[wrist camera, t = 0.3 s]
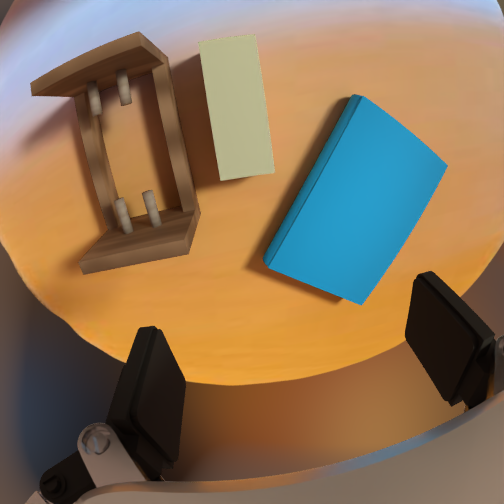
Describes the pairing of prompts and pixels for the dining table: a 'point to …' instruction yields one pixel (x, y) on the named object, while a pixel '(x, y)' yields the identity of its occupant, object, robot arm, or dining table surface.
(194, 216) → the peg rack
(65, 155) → the dining table surface
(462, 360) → the robot arm
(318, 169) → the book
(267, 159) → the pale green block
